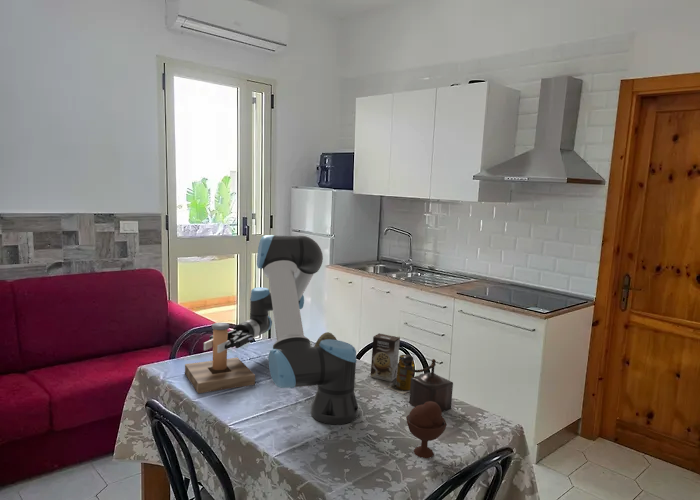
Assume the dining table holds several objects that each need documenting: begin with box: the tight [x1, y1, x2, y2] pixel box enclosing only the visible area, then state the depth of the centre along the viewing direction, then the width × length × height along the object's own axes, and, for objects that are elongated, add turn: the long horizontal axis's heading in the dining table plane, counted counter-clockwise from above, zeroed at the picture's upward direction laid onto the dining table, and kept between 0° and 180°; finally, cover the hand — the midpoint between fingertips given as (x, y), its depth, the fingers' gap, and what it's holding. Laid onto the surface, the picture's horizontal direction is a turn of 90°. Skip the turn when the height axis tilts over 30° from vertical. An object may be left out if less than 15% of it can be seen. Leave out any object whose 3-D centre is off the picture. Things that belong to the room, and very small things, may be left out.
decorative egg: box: [313, 331, 338, 347], centre depth 193 cm, size 11×11×15 cm
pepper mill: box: [402, 354, 454, 413], centre depth 162 cm, size 16×11×18 cm
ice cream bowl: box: [405, 401, 448, 459], centre depth 133 cm, size 11×11×15 cm
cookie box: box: [370, 333, 401, 382], centre depth 188 cm, size 9×6×16 cm
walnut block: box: [184, 357, 256, 394], centre depth 177 cm, size 20×20×4 cm
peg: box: [211, 322, 230, 370], centre depth 176 cm, size 6×6×16 cm
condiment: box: [387, 354, 415, 395], centre depth 178 cm, size 7×8×12 cm
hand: (211, 347), depth 171 cm, fingers closed on peg, 5 cm apart
